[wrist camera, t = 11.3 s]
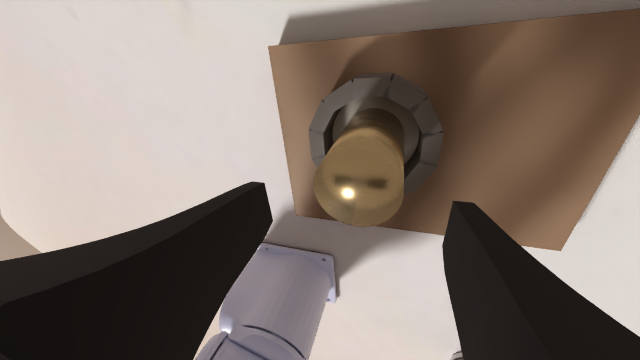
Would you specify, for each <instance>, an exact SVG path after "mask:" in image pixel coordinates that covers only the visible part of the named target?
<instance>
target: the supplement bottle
mask: <svg viewBox="0 0 640 360" xmlns="http://www.w3.org/2000/svg"><path fill="white" fill-rule="evenodd" d="M450 360H463V356H462V352H461V353H456V354H454V355H453V356H452V357H451V359H450Z"/></svg>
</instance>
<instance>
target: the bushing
mask: <svg viewBox="0 0 640 360" xmlns="http://www.w3.org/2000/svg"><path fill="white" fill-rule="evenodd" d="M313 187H314V192H315V196H316V198H317V200H318V202H319V204H320V205H321V207H322V208H323V209H324V210H325V211H326V212H327V213H328V214H329V215H331V216H332V217H333V218H335V219H337V220H339V221H341V222H343V223H346V224H349V225H353V226H361V227H365V226H374V225H378V224H380V223H383V222H385V221H387V220H388V219H390V218H391V217H392V216H393V215H394V214H395V213H396V212H397V211H398V209H399V208H400V206H401V203H402V200H403V195H404V129H403V126H402V124H401V122H400V120H399V119H398V118H397V117H396V116H395V115H394V114H393V113H391V112H389V111H387V110H385V109H381V108H369V109H365V110H362V111H360V112H359V113H357V114H356V115H355V116H353V117H352V119H351V120H350V121H349V123H348V124H347V126H346V127H345V128H344V130H343V131H342V133H341V134H340V136H339V137H338V139H337V140H336V142H335V143H334V144H333V146H332V147H331V149H330V150H329V152H328V153H327V155H326V156H325V158H324V159H323V160H322V162H321V163H320V165H319V166H318V168H317V170H316V172H315V175H314V181H313Z"/></svg>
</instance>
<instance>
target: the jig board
mask: <svg viewBox="0 0 640 360" xmlns="http://www.w3.org/2000/svg"><path fill="white" fill-rule="evenodd" d="M268 49H269V55H270V61H271V67H272V73H273V79H274V86H275V92H276V98H277V104H278V110H279V116H280V122H281V128H282V134H283V140H284V146H285V152H286V158H287V164H288V170H289V176H290V182H291V188H292V194H293V200H294V206H295V212H296V215H298V216H305V217H313V218H320V219H327V220H335V221H339V220H337V219H335V218H333V217H332V216H331V215H329V214H328V213H327V212H326V211H325V210H324V209H323V208H322V207H321V205H320V204H319V202H318V200H317V198H316V196H315V192H314V187H313V181H314V175H315V172H316V170H317V168H318V166H319V165H320V163H321V162H322V160H323V159H324V158H325V156H326V155H327V153H328V152H329V150H330V149H331V147H332V146H333V144H334V143H335V142H336V140H337V139H338V137H339V136H340V134H341V133H342V131H343V130H344V128H345V127H346V126H347V124H348V123H349V121H350V120H351V119H352V117H353V116H355V115H356V114H357V113H359V112H360V111H362V110H365V109H369V108H381V109H385V110H387V111H389V112H391V113H393V114H394V115H395V116H396V117H397V118H398V119H399V120H400V122H401V124H402V126H403V129H404V195H403V200H402V203H401V206H400V208H399V209H398V211H397V212H396V213H395V214H394V215H393V216H392V217H391V218H390V219H388V220H387V221H385V222H383V223H380V224H378V225H374V226H379V227H387V228H394V229H401V230H409V231H416V232H424V233H431V234H438V235H445V232H446V228H447V224H448V220H449V215H450V211H451V207H452V202H453V201H462V202H473V203H475V204H476V205H477V206H478V207H479V208H480V209H481V210H482V211H484V212H485V213H486V214H487V215H488V216H489V217H490V218H491V219H492V220H493V221H494V222H495V223H496V224H497V225H498V226H499V227H500V228H502V229H503V230H504V231H505V232H506V233H507V234H508V235H509V236H510V237H511V238H512V239H513V240H515V241H516V242H517V243H518V244H519V245H520V246H527V247H534V248H542V249H549V250H557V251H561V250H562V248H563V246H564V245H565V243H566V241H567V239H568V238H569V236H570V234H571V232H572V231H573V229H574V227H575V226H576V224H577V222H578V220H579V219H580V217H581V215H582V213H583V212H584V210H585V208H586V207H587V205H588V203H589V201H590V200H591V198H592V196H593V194H594V193H595V191H596V189H597V188H598V186H599V184H600V182H601V181H602V179H603V177H604V175H605V174H606V172H607V170H608V169H609V167H610V165H611V163H612V162H613V160H614V158H615V156H616V155H617V153H618V151H619V150H620V148H621V146H622V144H623V143H624V141H625V139H626V137H627V136H628V134H629V132H630V131H631V129H632V127H633V125H634V124H635V122H636V120H637V118H638V117H639V115H640V9H630V10H621V11H611V12H601V13H591V14H581V15H571V16H561V17H552V18H542V19H532V20H522V21H512V22H502V23H492V24H482V25H473V26H463V27H453V28H443V29H433V30H423V31H413V32H404V33H394V34H384V35H374V36H364V37H354V38H344V39H334V40H325V41H315V42H305V43H295V44H285V45H275V46H268Z"/></svg>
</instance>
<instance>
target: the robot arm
mask: <svg viewBox="0 0 640 360" xmlns="http://www.w3.org/2000/svg"><path fill="white" fill-rule="evenodd" d="M272 222H273V219H272V214H271V210H270V206H269V201H268V197H267V192H266V188H265V184H264V183H261V182H250V183H247V184H244V185H242V186H239V187H237V188H234V189H232V190H230V191H228V192H226V193H223V194H221V195H219V196H217V197H215V198H213V199H210V200H208V201H206V202H204V203H202V204H199V205H197V206H195V207H192V208H190V209H188V210H185V211H183V212H181V213H178V214H176V215H174V216H171V217H169V218H166V219H163V220H161V221H158V222H155V223H152V224H149V225H147V226H144V227H141V228H138V229H135V230H131V231H128V232H125V233H121V234H118V235H114V236H111V237H108V238H104V239H101V240H97V241H93V242H89V243H85V244H81V245H77V246H73V247H69V248H65V249H60V250H56V251H51V252H46V253H41V254H36V255H31V256H26V257H21V258H15V259H10V260H5V261H0V360H193V359H194V356H195V354H196V352H197V350H198V348H199V346H200V344H201V342H202V340H203V338H204V336H205V334H206V332H207V330H208V328H209V326H210V324H211V322H212V321H213V319H214V317H215V315H216V313H217V311H218V310H219V308H220V306H221V304H222V302H223V300H224V299H225V300H224V302H223V305H222V308H221V311H220V316H219V326H220V331H221V333H219V334H217V335H214V336H213V337H212V338H211V339H210V340H209V341H208V342H207V343H206V345H205V346H204V347H203V349H202V350H201V352H200V353H199V354H198V356H197V357H196V359H195V360H308V359H309V356H310V353H311V349H312V346H313V343H314V340H315V336H316V333H317V330H318V326H319V323H320V320H321V317H322V313H323V310H324V307H325V303H326V302H330V303H335V302H336V299H337V298H336V284H335V271H334V259H333V257H332V256H331V255H326V254H321V253H315V252H310V251H304V250H299V249H293V248H288V247H282V246H277V245H271V244H266V243H262V241H263V240H264V238H265V236H266V234H267V232H268V230H269V228H270V226H271V224H272ZM442 247H443V260H444V270H445V276H446V281H447V286H448V290H449V295H450V299H451V304H452V308H453V313H454V317H455V322H456V326H457V331H458V335H459V340H460V345H461V350H462V356H463V360H640V337H639V336H638V335H636V334H635V333H633V332H632V331H630V330H629V329H627V328H626V327H624V326H623V325H622V324H620V323H619V322H617V321H616V320H615V319H613V318H612V317H610V316H609V315H608V314H606V313H605V312H604V311H602V310H601V309H599V308H598V307H597V306H595V305H594V304H593V303H591V302H590V301H588V300H587V299H586V298H584V297H583V296H582V295H580V294H579V293H578V292H576V291H575V290H574V289H572V288H571V287H570V286H568V285H567V284H566V283H565V282H563V281H562V280H561V279H560V278H558V277H557V276H556V275H555V274H553V273H552V272H551V271H550V270H549V269H547V268H546V267H545V266H544V265H542V264H541V263H540V262H539V261H538V260H536V259H535V258H534V257H533V256H532V255H530V254H529V253H528V252H527V251H526V250H525V249H524V248H522V247H521V246H520V245H519V244H518V243H517V242H516V241H515V240H513V239H512V238H511V237H510V236H509V235H508V234H507V233H506V232H505V231H504V230H503V229H502V228H500V227H499V226H498V225H497V224H496V223H495V222H494V221H493V220H492V219H491V218H490V217H489V216H488V215H487V214H486V213H485V212H484V211H482V210H481V209H480V208H479V207H478V206H477V205H476V204H475V203H473V202H462V201H453V202H452V207H451V211H450V215H449V220H448V224H447V228H446V232H445V237H444V241H443V245H442ZM256 251H257V252H256ZM255 252H256V253H255ZM253 255H254V256H253ZM252 256H253V257H252ZM251 258H252V259H251ZM324 258H325V259H324ZM250 259H251V260H250ZM249 261H250V262H249ZM248 262H249V263H248ZM246 265H247V266H246ZM244 268H245V269H244ZM242 271H243V272H242ZM241 272H242V273H241ZM239 275H240V276H239ZM237 278H238V279H237ZM235 281H236V282H235ZM226 295H227V296H226ZM225 297H226V298H225Z"/></svg>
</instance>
